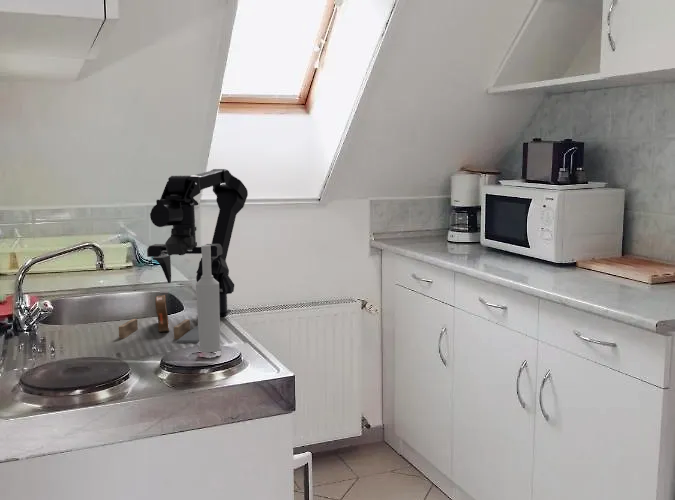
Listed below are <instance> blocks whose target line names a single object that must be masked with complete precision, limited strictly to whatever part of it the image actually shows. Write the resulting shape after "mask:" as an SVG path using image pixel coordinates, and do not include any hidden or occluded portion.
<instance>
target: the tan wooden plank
mask: <svg viewBox="0 0 675 500" xmlns="http://www.w3.org/2000/svg"><path fill="white" fill-rule="evenodd" d="M138 330H139V326H138V318H132V319H130V320H129V321H126V322H124V323H122V324H121V325H119V326H118V336H119V337H118V339H125V338H127V337H129V336H130V335H132V334H133V333H135V332H137V331H138ZM190 330H191V319H190V318H186V319H183V320H182V321H181V322H179V323H178V324H176V325H175V326H174V327H173V339H174V340H178V339H180V338H181V337H182V336H184V335H185V334H186V333H188V332H189V331H190Z"/></svg>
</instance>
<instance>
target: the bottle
mask: <svg viewBox="0 0 675 500" xmlns="http://www.w3.org/2000/svg"><path fill="white" fill-rule="evenodd" d="M200 247H201V250H202V254H201V258H202V270H203V275H202V276H201V279H200V280H199V281H198V282H197V281H196V282H195V292H196V295H195V296H196V309H197V311H196V312H197V325H198V329H199V342H198V344H199V347H198V348H197V349H198V350H199V351H202V352H217V351H221V352H222V346H221V327H220V326H221V325H220V324H221V323H220V322H221V317H220V306H219V282H218V281H216V280H215V279H214V278H213V275H212V273H211V245H206V244H203V245H201V246H200ZM199 351H198V352H199Z"/></svg>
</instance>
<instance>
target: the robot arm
mask: <svg viewBox="0 0 675 500" xmlns="http://www.w3.org/2000/svg"><path fill="white" fill-rule="evenodd" d="M211 187H212V192H213V194H214V195H215V196H216V204H217V206H218V208H219V209H218V210H219V212H218V216H217V220H216V224H215V228H214V232H213V235H212V240H211V243H206V244H205V245H211V273H212V275H213V278H214V279H215V280H216V281H218V282H219V306H220V316H221V317H224V316H225V317H226V316H227V315H228V314H230V313H231V312H232V309H228V295H230V294H232V293H234V289H235V283H234V282H233V280H232V279H231V277H230V276H229V274H230V273H229V272H230V269H229V266H228V264H227V256H228V252H229V247H230V243H231V239H232V235H233V230H234V226H235V222H236V217H237V215H238V213H239V212H240V211H241V210H242V209H244V207H245V204H246V201H247V198H248V196H249V195H248V194H249V193H248V189H247V187H246V186H245V184H244V183H243V181H242V180H240V179H239V178H238V177H236V176H234V175H233V174H232V173H231V172H230V170H228V169H225V168H213V169H211V170H208V171H205V172H202V173H198V174H193V175H171V176H169V178H168V179H167V182H166V184H165V187H164V189H163V191H162V194H161V196H160V199H156V204H155V205H153V206H152V208H151V210H150V213H149V217H150V221H151V223H152V224H153V225H154V226H155V227H158V228H166V227H171V226H172V228H171V230H170V236H169V237H168V238H167V240H166V241H165V243H154V244H151V245H148V246H147V250H146V256H147V257H148V258H152V259H151V260H152V261H156V262H157V263H158V264H159V266H160V267H161V269H162V271H163V274H164V277H165V279H166V280H167V283H168V284H171V283H172V265H171V262H172V261H171V256H173V255H175V256H176V255H177V256H185V255H186V254H187V255H190V254H191V255H192V254H194V255H198V254H199V255H200V254H201V255H202V250H201V246H198V242H197V240H196V237H197V236H196V231H197V226H196V219H195V218H196V213H195V207H196V206H198V205H199V202H198V201H197V200H196V199H195V197H196V196H198V195H199V194H200V193H201V191H202V190H204V189H208V188H211ZM202 275H203V270H202V257H201V258H200V260H199V262H198V268H197V271H196V277H195V278H196V279H195V280H196V283H197V282H198V281H199V280H200V279H201V276H202Z"/></svg>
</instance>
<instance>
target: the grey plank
mask: <svg viewBox="0 0 675 500" xmlns="http://www.w3.org/2000/svg"><path fill="white" fill-rule="evenodd" d="M176 342H177V344H178V343H179V344H181V343H183V344H185V343H186V344H199V329H198V324H197V325H196V326H194V327H193V328H192V329H190V331H188V332H187V333H186V334H185V335H184V336H182V337H181V338H180V339H176Z"/></svg>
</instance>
